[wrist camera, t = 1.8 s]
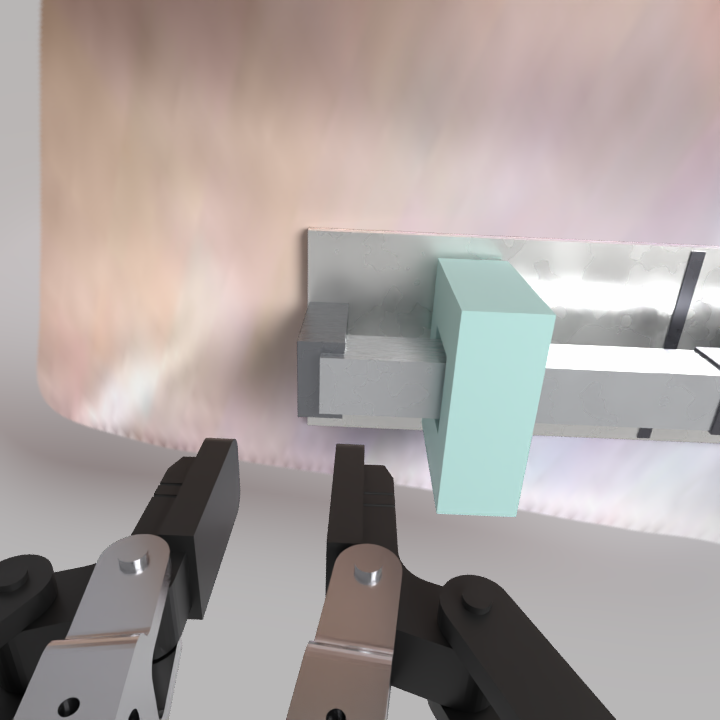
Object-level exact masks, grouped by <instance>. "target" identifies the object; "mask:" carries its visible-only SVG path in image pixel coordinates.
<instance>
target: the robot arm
mask: <svg viewBox="0 0 720 720" xmlns="http://www.w3.org/2000/svg"><path fill="white" fill-rule="evenodd" d="M239 501H240V478H239V462H238V446H237V441H236V439H220V438H206V439H205V440H204V442H203V444H202V446H201V448H200V450H199V452H198V454H197V456H196V457H182V458H181V459H180V460H179V461H177V462H176V463H175V464H173V465H172V466H171V467H170V468H168V470H167V472H166V473H165V475H164V477H163V479H162V481H161V483H160V485H159V486H158V488H157V489H156V491H155V493H154V497H152V498H151V500H150V502H149V504H148V506H147V508H146V509H145V511H144V513H143V515H142V516H141V518H140V520H139V522H138V524H137V526H136V527H135V529H134V531H133V533H132V534H131V536H129V537H125V538H123V539H120V540H118V541H116V542H115V543H113V544H111V545H110V546H109V547H108V548H106V549H105V550H104V551H103V553H102V554H101V555H100V557H99V559H98V561H97V563H95V564H93V565H89V566H85V567H80V568H75V569H70V570H65V571H60V572H54V571H53V567H52V565H51V563H50V561H49V560H48V559H46V558H45V557H42V556H39V555H30V554H29V555H20V556H15V557H11V558H8V559H5V560H3V561H1V562H0V720H169V714H170V709H171V703H172V698H173V693H174V688H175V683H176V677H177V672H178V667H179V661H180V656H181V650H182V641H181V635H182V632H183V629H184V627H185V624H186V621H187V619H200V620H202V619H203V617H204V614H205V611H206V608H207V604H208V602H209V599H210V595H211V593H212V589H213V586H214V583H215V580H216V577H217V574H218V571H219V568H220V564H221V562H222V559H223V556H224V553H225V550H226V547H227V543H228V540H229V537H230V534H231V531H232V528H233V525H234V522H235V519H236V515H237V513H238V508H239ZM330 505H331V506H330V514H329V524H328V534H327V552H326V557H327V558H326V598H325V603H324V606H323V610H322V613H321V617H320V621H319V625H318V628H317V632H316V636H315V639H314V641H309V643H308V645H307V647H306V650H305V653H304V656H303V660H302V664H301V668H300V671H299V675H298V678H297V682H296V685H295V689H294V692H293V696H292V700H291V703H290V707H289V710H288V714H287V718H286V720H387V718H388V709H389V700H390V690H391V686H394V687H397V688H399V689H402V690H404V691H407V692H410V693H412V694H415V695H418V696H420V697H423V698H425V699H427V700H428V704H429V706H430V708H431V710H432V712H433V714H434V716H435V718H436V719H437V720H616V719H615V718H614V717H613V716H612V714H611V713H610V712H609V711H608V710H607V708H606V707H605V706H604V705H603V704H602V703H601V701H600V700H599V699H598V698H597V697H596V696H595V694H594V693H593V692H592V691H591V690H590V689H589V687H587V685H586V684H585V683H584V682H583V681H582V679H581V678H580V677H579V676H578V675H577V674H576V672H575V671H574V670H573V669H572V668H571V667H570V666H569V664H568V663H567V662H566V661H565V660H564V659H563V657H561V655H560V654H559V653H558V652H557V650H556V649H555V648H554V647H553V646H552V645H551V644H550V642H549V641H548V640H547V639H546V638H545V637H544V636H543V634H542V633H541V632H540V631H539V630H538V629H537V627H536V626H535V625H534V624H533V623H532V622H531V620H530V619H529V618H528V617H527V616H526V615H525V613H524V612H523V611H522V610H521V609H520V608H519V607H518V605H517V604H516V603H515V602H514V601H513V600H512V598H511V597H510V596H509V595H508V594H507V593H506V592H505V591H504V589H502V587H500V586H499V585H498V584H496V583H495V582H493V581H491V580H489V579H487V578H484V577H481V576H476V575H462V576H458V577H455V578H453V579H451V580H449V581H448V582H447V583H446V584H445V585H444V586H440V585H436V584H433V583H430V582H427V581H425V580H422V579H420V578H418V577H416V576H415V575H413V574H412V573H411V572H410V571H408V570H407V569H406V568H405V566H404V565H403V564H402V562H401V560H400V558H399V555H398V545H397V529H396V514H395V498H394V482H393V477H392V476H391V475H390V473H389V472H388V470H387V469H386V467H385V466H383V465H364V445H353V444H336V453H335V464H334V474H333V484H332V494H331V504H330Z"/></svg>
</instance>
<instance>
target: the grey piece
mask: <svg viewBox="0 0 720 720" xmlns="http://www.w3.org/2000/svg"><path fill="white" fill-rule="evenodd" d="M438 258H449V259H472V260H494V261H508V262H509V263H510V264H511V265H512V266H513V267H514V268H515V269H516V271H517V272H518V273H519V274H520V275H521V276H522V277H523V278H524V279H525V281H526V282H527V283H528V284H529V285H530V286H531V287H532V288H533V289H534V291H535V292H536V293H537V294H538V295H539V296H540V297H541V298H542V300H543V301H544V302H545V303H546V304H547V305H548V306H549V307H550V308H551V310H552V311H553V312H554V313H555V314H556V319H555V324H554V329H553V334H552V339H551V344H550V349H549V354H548V359H547V364H546V369H545V374H544V379H543V384H542V389H541V394H540V399H539V404H538V409H537V414H536V419H535V424H534V429H533V434H532V435H541V436H564V437H587V438H609V439H632V440H655V441H677V442H700V443H720V246H711V245H689V244H666V243H644V242H622V241H600V240H577V239H555V238H533V237H511V236H488V235H466V234H444V233H422V232H399V231H377V230H355V229H333V228H310V227H309V229H308V308H307V311H306V314H305V318H304V321H303V324H302V327H301V331H300V334H299V337H298V340H297V382H298V417H308V425H314V426H337V427H360V428H382V429H405V430H423V427H422V418H430V419H440V412H441V404H442V395H443V387H444V378H445V370H446V361H447V356H446V353H445V349H444V346H443V343H442V340H441V339H430V333H431V323H432V313H433V303H434V293H435V283H436V273H437V264H438Z"/></svg>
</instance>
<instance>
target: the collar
mask: <svg viewBox="0 0 720 720" xmlns="http://www.w3.org/2000/svg"><path fill="white" fill-rule="evenodd" d="M555 319H556V314H555V313H554V312H553V311H552V310H551V308H550V307H549V306H548V305H547V304H546V303H545V302H544V301H543V300H542V298H541V297H540V296H539V295H538V294H537V293H536V292H535V291H534V289H533V288H532V287H531V286H530V285H529V284H528V283H527V282H526V281H525V279H524V278H523V277H522V276H521V275H520V274H519V273H518V272H517V271H516V269H515V268H514V267H513V266H512V265H511V264H510V263H509V262H508V261H494V260H472V259H449V258H438V264H437V273H436V283H435V293H434V303H433V313H432V323H431V333H430V339H441V340H442V343H443V346H444V349H445V353H446V356H447V361H446V370H445V378H444V387H443V395H442V404H441V412H440V419H430V418H422V427H423V433H424V440H425V446H426V452H427V458H428V464H429V470H430V476H431V482H432V488H433V494H434V500H435V507H436V512H437V513H438V514H459V515H482V516H506V517H516V514H517V509H518V504H519V499H520V494H521V489H522V484H523V479H524V474H525V469H526V464H527V459H528V454H529V449H530V444H531V439H532V434H533V429H534V424H535V419H536V414H537V409H538V404H539V399H540V394H541V389H542V384H543V379H544V374H545V369H546V364H547V359H548V354H549V349H550V344H551V339H552V334H553V329H554V324H555Z"/></svg>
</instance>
